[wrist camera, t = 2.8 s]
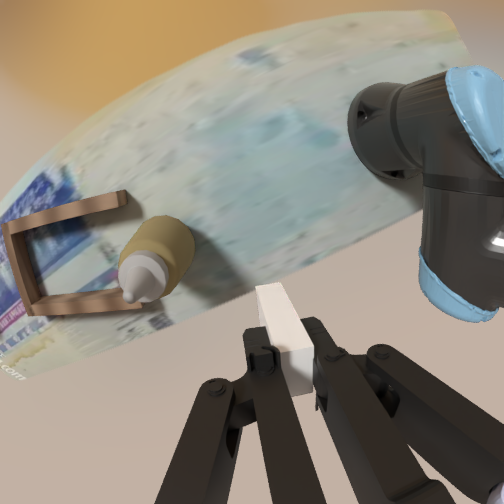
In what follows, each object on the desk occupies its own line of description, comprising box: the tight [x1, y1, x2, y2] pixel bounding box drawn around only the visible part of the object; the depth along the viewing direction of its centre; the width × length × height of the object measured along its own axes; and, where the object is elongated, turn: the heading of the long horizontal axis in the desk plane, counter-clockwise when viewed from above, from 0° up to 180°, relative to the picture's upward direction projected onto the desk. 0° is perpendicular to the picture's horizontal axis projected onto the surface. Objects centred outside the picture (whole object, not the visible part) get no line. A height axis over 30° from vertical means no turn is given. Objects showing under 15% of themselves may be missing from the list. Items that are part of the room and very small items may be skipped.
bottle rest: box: [1, 190, 145, 316], centre depth 34 cm, size 23×16×4 cm
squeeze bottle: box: [118, 215, 195, 304], centre depth 28 cm, size 8×8×18 cm
